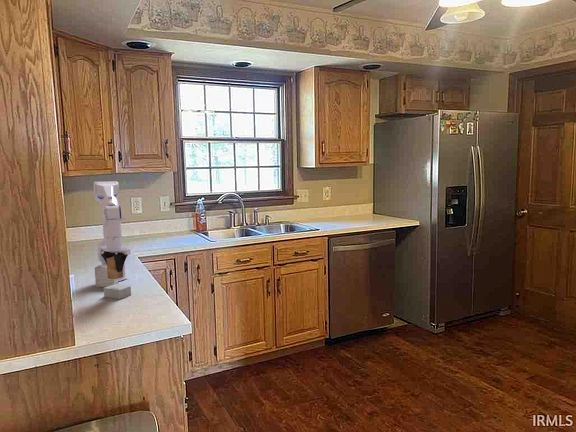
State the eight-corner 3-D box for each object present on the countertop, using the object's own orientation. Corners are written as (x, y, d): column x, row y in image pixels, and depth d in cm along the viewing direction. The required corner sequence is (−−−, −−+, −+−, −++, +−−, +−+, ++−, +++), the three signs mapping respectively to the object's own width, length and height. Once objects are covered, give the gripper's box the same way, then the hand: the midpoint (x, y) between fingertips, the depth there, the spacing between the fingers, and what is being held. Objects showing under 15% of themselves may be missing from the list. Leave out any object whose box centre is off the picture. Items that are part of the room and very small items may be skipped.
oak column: (115, 275, 173) (114, 256, 172) (123, 276, 171) (122, 257, 170) (107, 278, 169) (106, 258, 168) (115, 279, 167) (114, 259, 166)
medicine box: (118, 284, 187) (117, 264, 186) (114, 287, 183) (113, 267, 182) (99, 284, 187) (98, 264, 186) (95, 287, 182) (94, 267, 181)
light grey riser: (116, 292, 175) (115, 284, 175) (131, 294, 172) (130, 286, 172) (104, 296, 170) (103, 287, 169) (119, 299, 167) (119, 290, 166)
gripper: (91, 237, 168) (93, 271, 169) (119, 239, 162) (121, 275, 163) (106, 234, 174) (108, 267, 176) (133, 236, 168) (135, 270, 170)
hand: (115, 270), depth 170 cm, fingers closed on oak column, 4 cm apart
